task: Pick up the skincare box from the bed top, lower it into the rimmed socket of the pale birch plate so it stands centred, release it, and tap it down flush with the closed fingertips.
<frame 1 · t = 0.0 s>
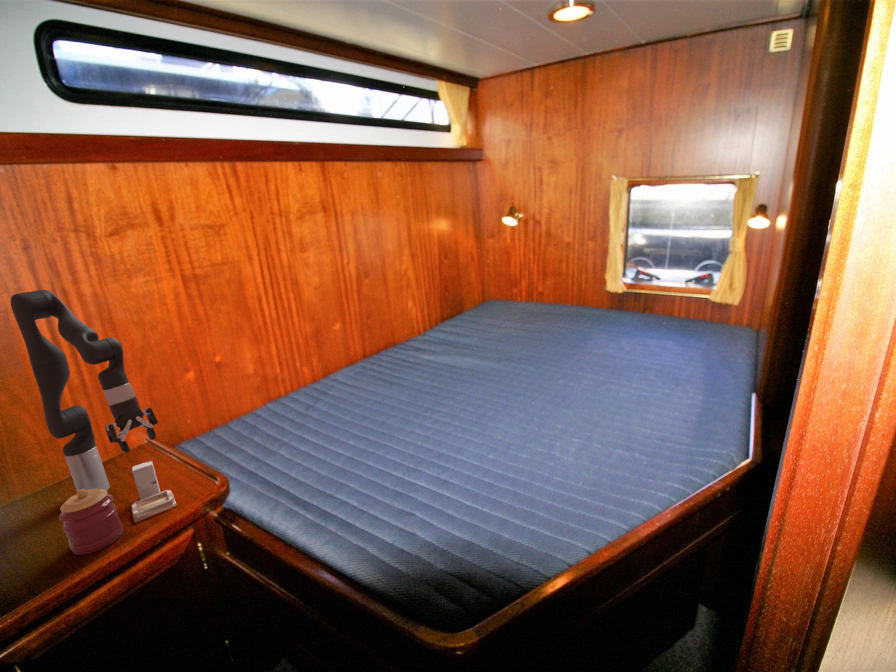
hand: (140, 445, 149), 22 cm above the nightstand, tool pointing down, fingers open, 8 cm apart
socket plate: (154, 507, 153), on the nightstand
skincare box: (151, 496, 161), on the nightstand
canister: (99, 541, 138), on the nightstand
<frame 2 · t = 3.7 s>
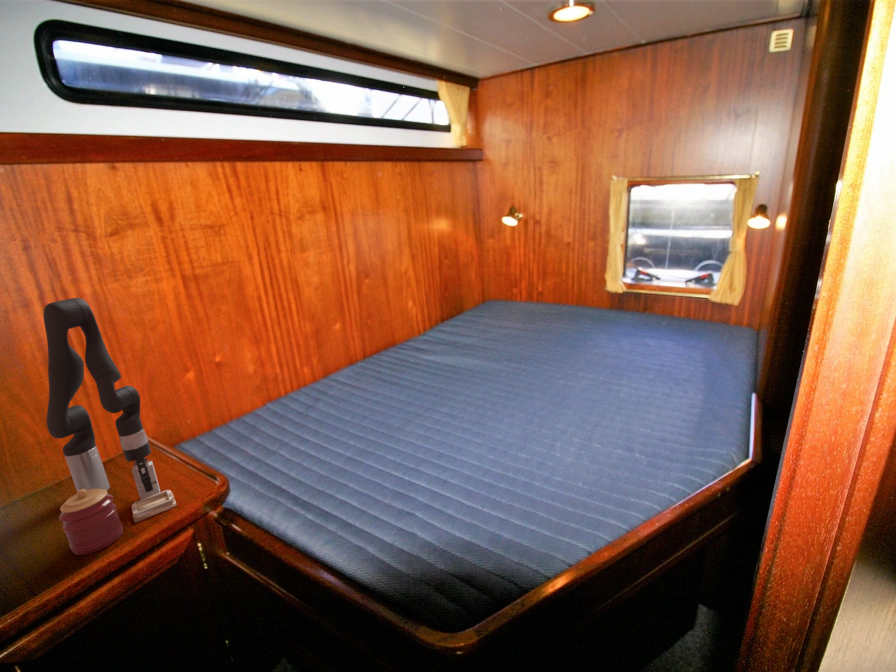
hand: (148, 487, 160), 3 cm above the nightstand, tool pointing down, fingers closed on skincare box, 4 cm apart
skincare box: (151, 496, 161), on the nightstand, touching gripper
everything else where it was.
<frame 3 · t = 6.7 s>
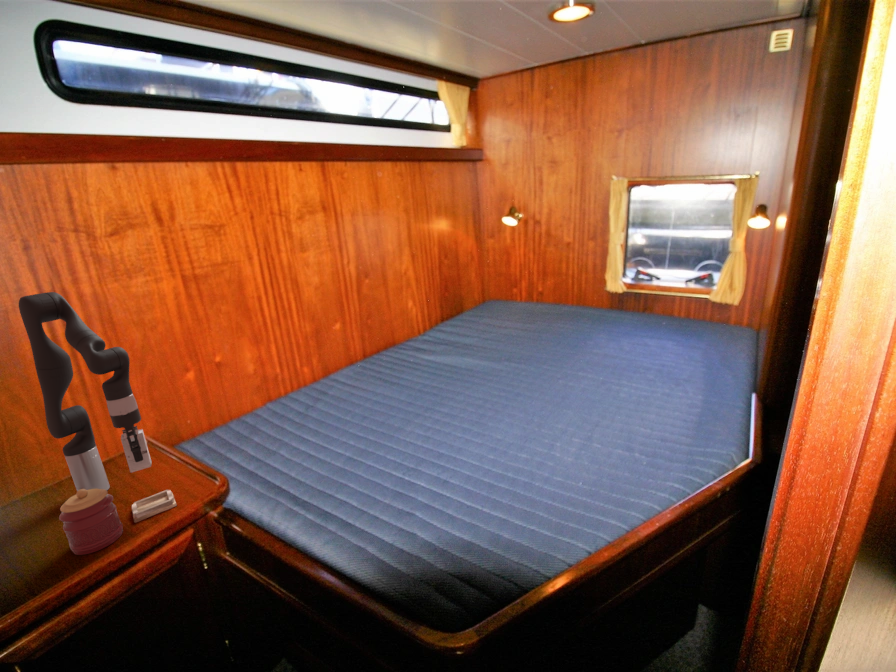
hand: (138, 458, 148), 19 cm above the nightstand, tool pointing down, fingers closed on skincare box, 4 cm apart
skincare box: (142, 467, 149), point 15 cm above the nightstand, touching gripper
everything else where it was.
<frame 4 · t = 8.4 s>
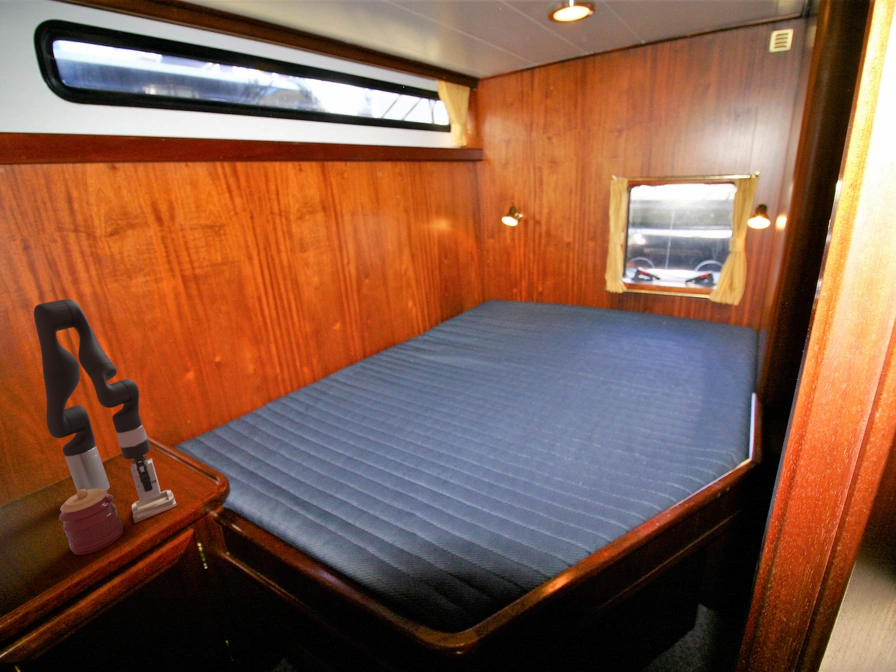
hand: (148, 487, 151), 8 cm above the nightstand, tool pointing down, fingers closed on skincare box, 4 cm apart
skincare box: (151, 496, 152), point 4 cm above the nightstand, touching gripper
everything else where it was.
when the fingers open (5 cm above the nightstand, at t = 9.8 s): skincare box stays where it is, resting on socket plate.
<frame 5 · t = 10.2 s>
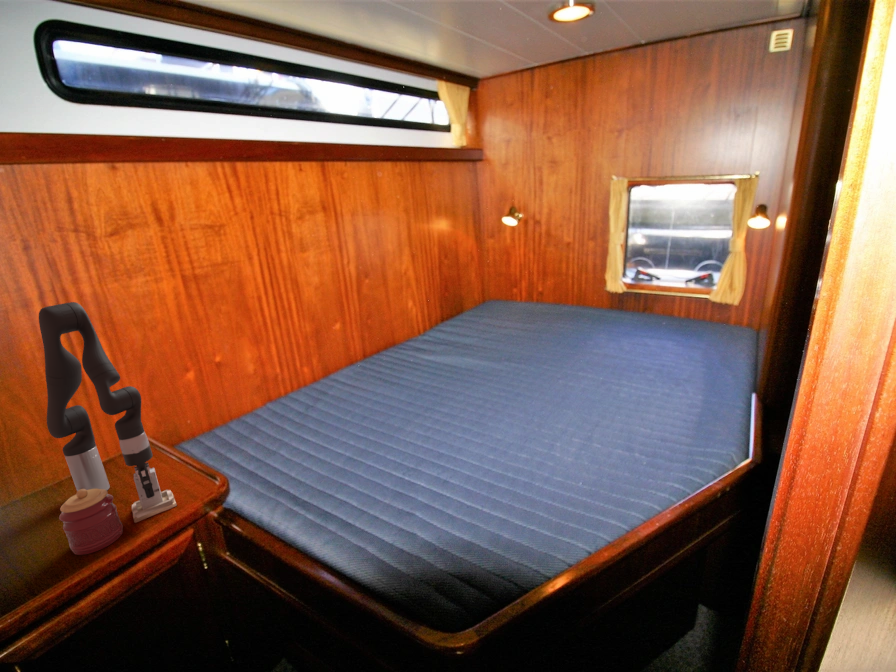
hand: (149, 491, 151), 6 cm above the nightstand, tool pointing down, fingers open, 8 cm apart
skincare box: (153, 505, 153), point 1 cm above the nightstand, touching socket plate
everything else where it was.
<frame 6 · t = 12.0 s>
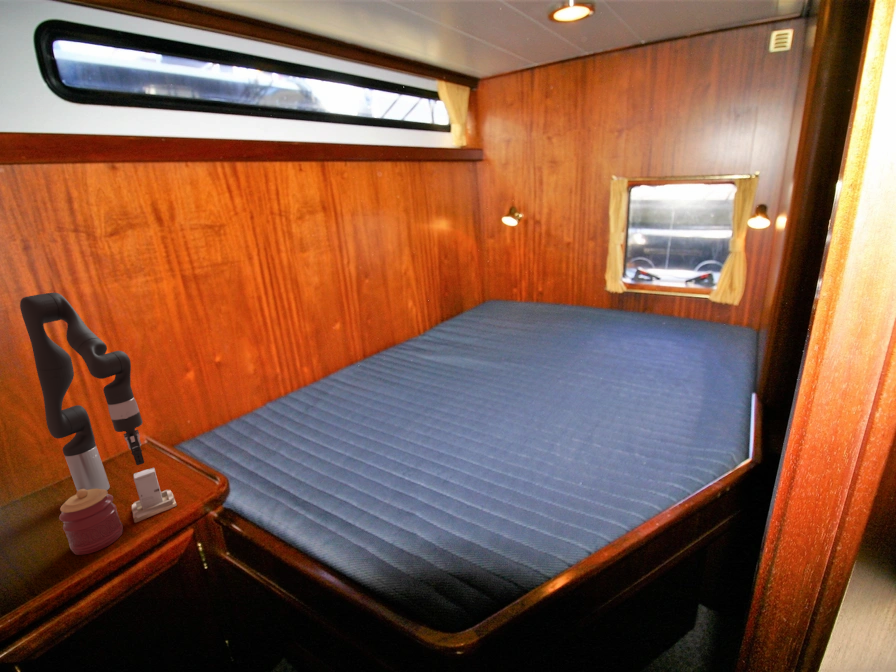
hand: (139, 459, 149), 18 cm above the nightstand, tool pointing down, fingers open, 8 cm apart
nothing on the nightstand moved.
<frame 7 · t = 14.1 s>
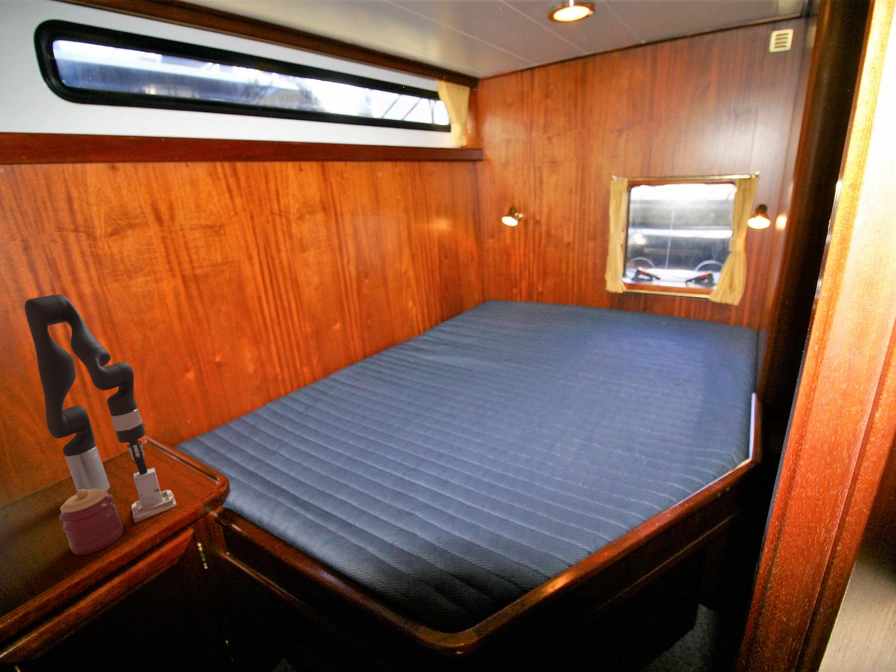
hand: (143, 473, 150), 13 cm above the nightstand, tool pointing down, fingers closed
skincare box: (153, 505, 153), point 1 cm above the nightstand, touching gripper, socket plate
everything else where it was.
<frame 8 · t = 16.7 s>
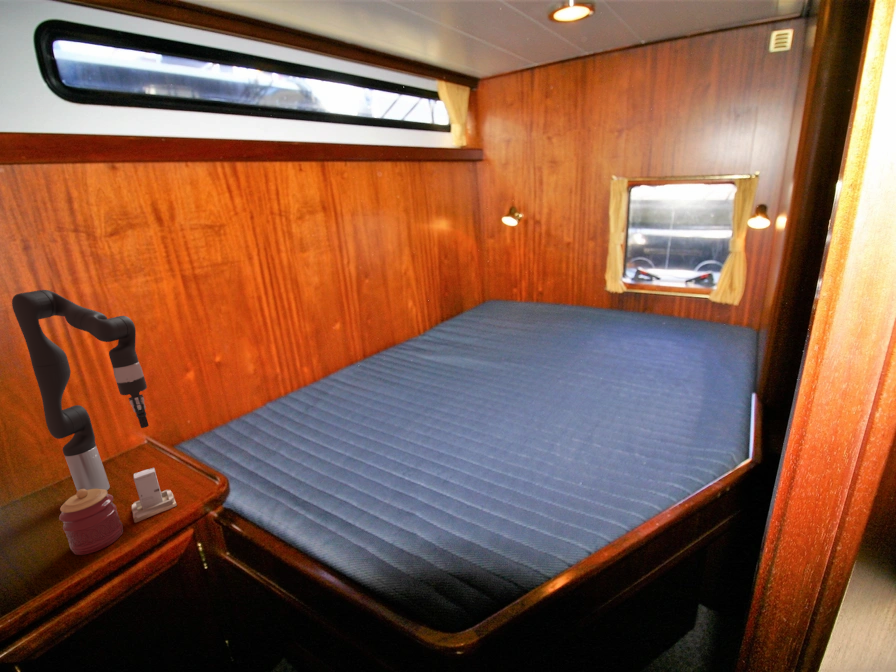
hand: (144, 426, 152), 27 cm above the nightstand, tool pointing down, fingers closed
skincare box: (153, 505, 153), point 1 cm above the nightstand, touching socket plate
everything else where it was.
at the end: skincare box 0.3 cm off-centre on the socket plate, point 0.8 cm above the socket plate's base; skincare box tilted 0°; the gripper is holding nothing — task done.
